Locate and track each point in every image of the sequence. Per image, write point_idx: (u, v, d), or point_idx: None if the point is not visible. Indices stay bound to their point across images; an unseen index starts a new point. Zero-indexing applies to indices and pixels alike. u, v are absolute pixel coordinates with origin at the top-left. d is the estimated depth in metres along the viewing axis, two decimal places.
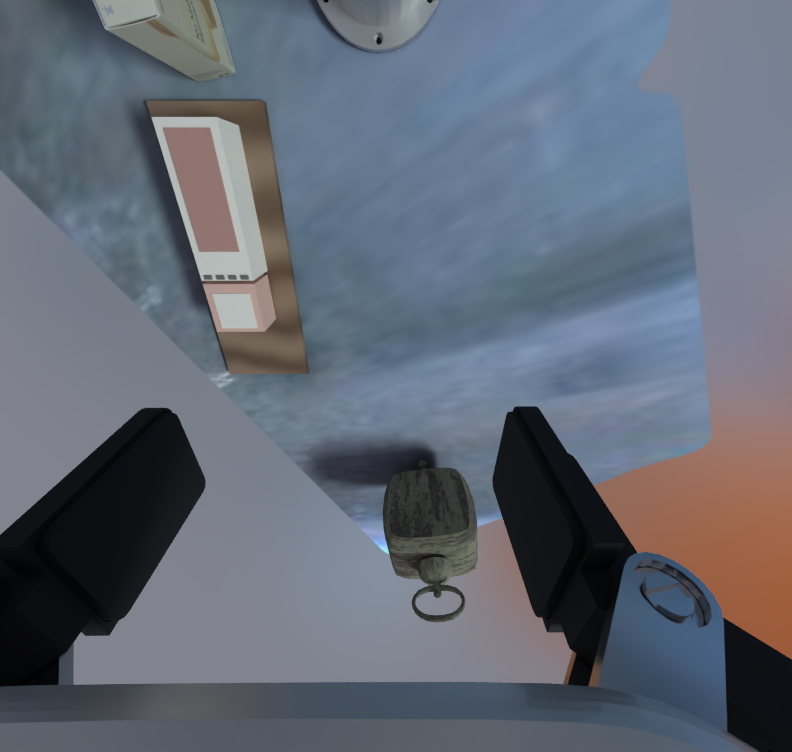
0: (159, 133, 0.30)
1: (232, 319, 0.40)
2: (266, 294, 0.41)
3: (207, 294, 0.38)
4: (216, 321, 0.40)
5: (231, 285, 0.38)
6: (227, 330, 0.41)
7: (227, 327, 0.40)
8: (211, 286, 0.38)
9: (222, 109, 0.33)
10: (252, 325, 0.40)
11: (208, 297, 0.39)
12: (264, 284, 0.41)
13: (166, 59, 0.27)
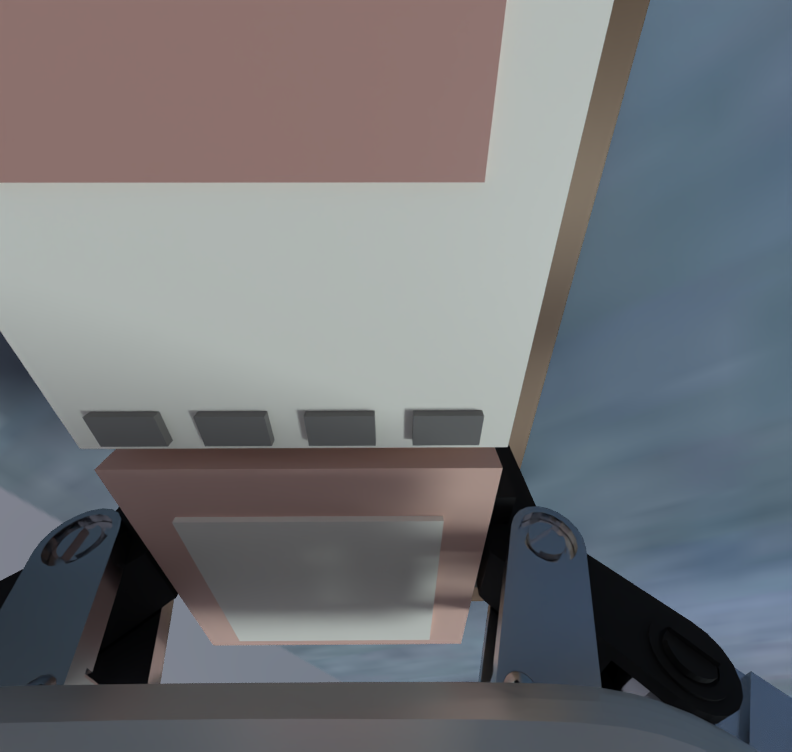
0: None
1: (299, 612, 0.07)
2: None
3: (141, 521, 0.05)
4: (208, 619, 0.07)
5: (322, 476, 0.05)
6: (267, 641, 0.08)
7: (268, 636, 0.07)
8: (165, 481, 0.05)
9: None
10: (406, 631, 0.07)
11: (150, 534, 0.06)
12: None
13: None
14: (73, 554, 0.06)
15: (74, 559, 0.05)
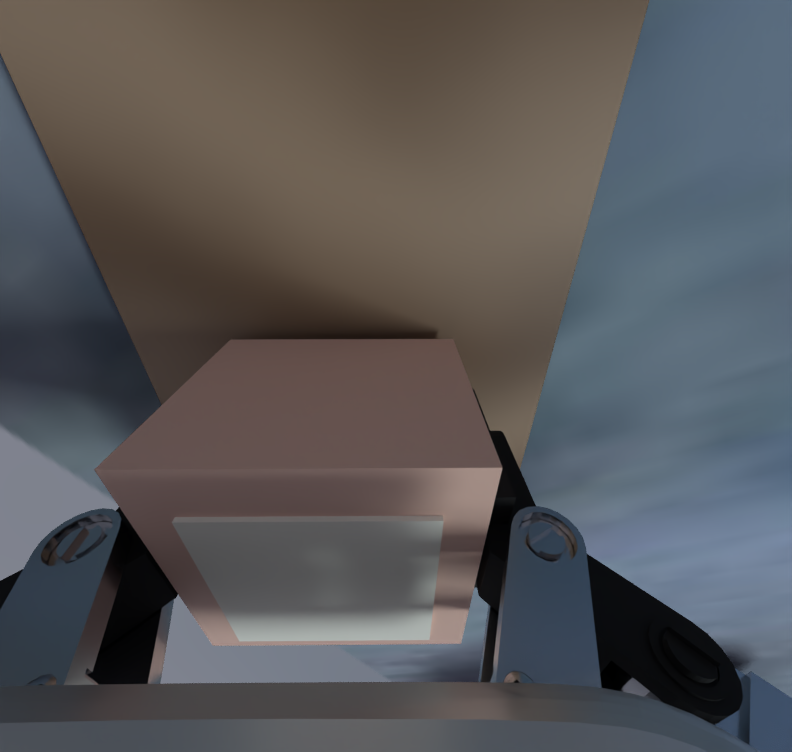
0: None
1: (299, 612, 0.07)
2: None
3: (140, 521, 0.05)
4: (208, 620, 0.07)
5: (321, 476, 0.05)
6: (266, 642, 0.08)
7: (268, 636, 0.07)
8: (165, 481, 0.05)
9: None
10: (406, 631, 0.07)
11: (150, 534, 0.06)
12: None
13: None
14: (73, 555, 0.06)
15: (74, 559, 0.05)
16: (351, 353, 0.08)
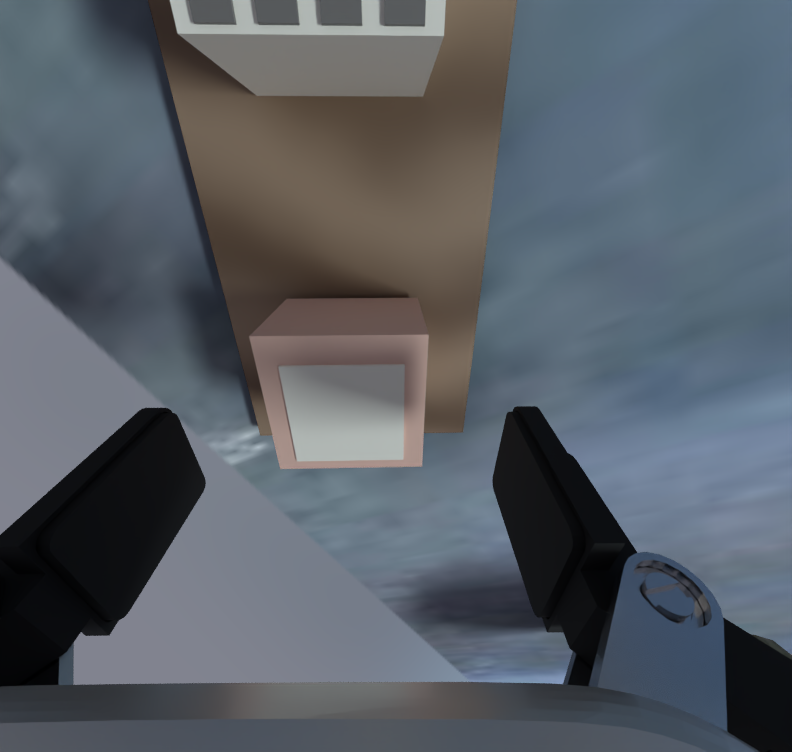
0: None
1: (331, 437, 0.13)
2: None
3: (262, 368, 0.11)
4: (281, 444, 0.13)
5: (349, 339, 0.11)
6: (311, 465, 0.14)
7: (313, 458, 0.13)
8: (278, 343, 0.11)
9: None
10: (390, 452, 0.13)
11: (264, 377, 0.12)
12: None
13: None
14: None
15: None
16: (358, 303, 0.14)
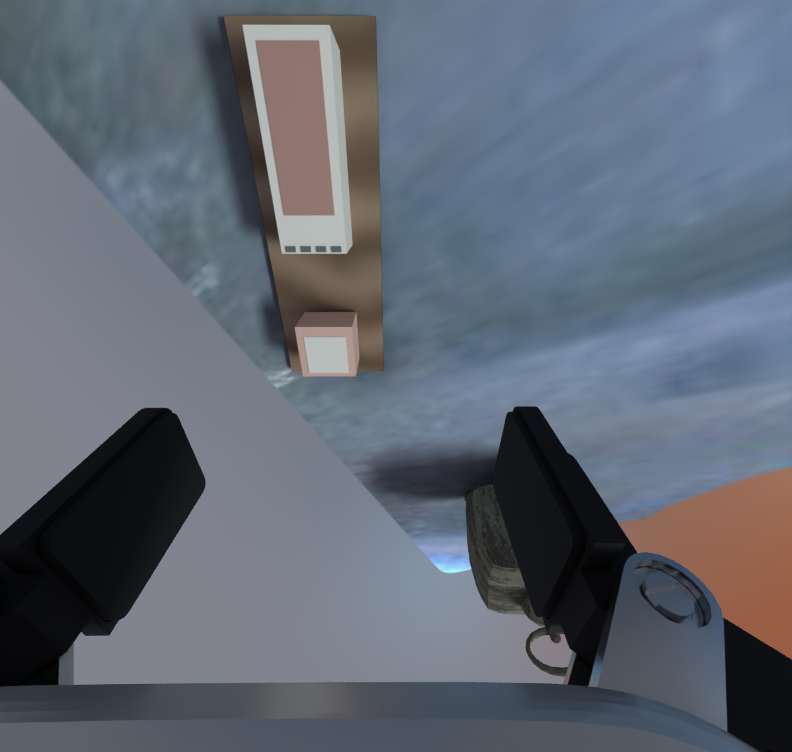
0: (250, 49, 0.23)
1: (321, 363, 0.36)
2: (356, 334, 0.37)
3: (298, 337, 0.34)
4: (303, 366, 0.36)
5: (326, 328, 0.34)
6: (314, 375, 0.37)
7: (315, 371, 0.36)
8: (303, 329, 0.34)
9: None
10: (343, 369, 0.36)
11: (298, 340, 0.34)
12: (355, 323, 0.37)
13: None
14: None
15: None
16: (332, 314, 0.37)
